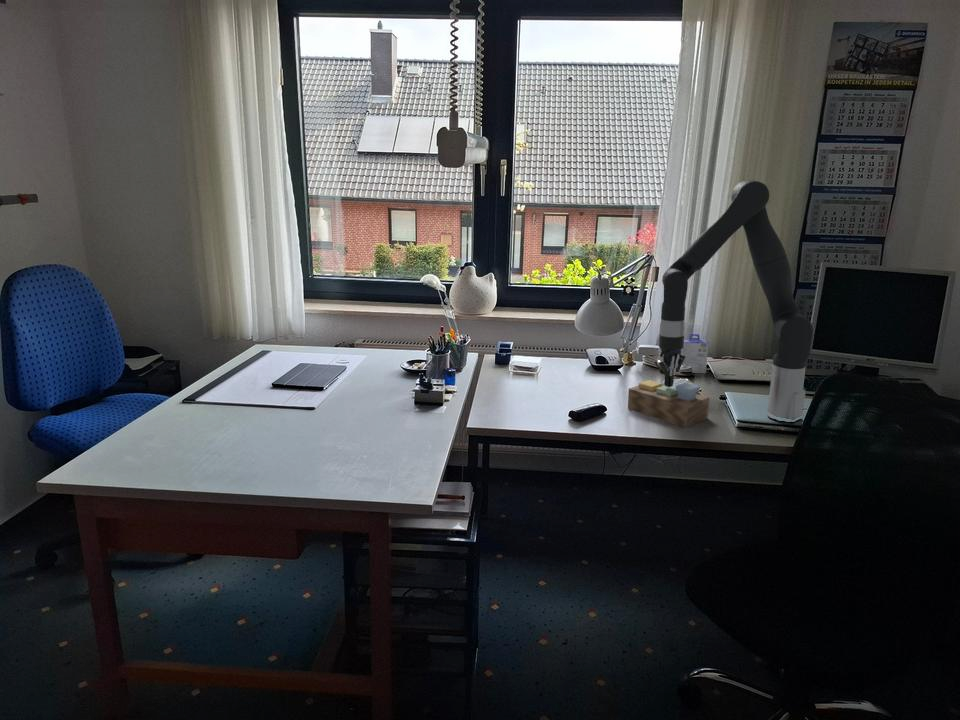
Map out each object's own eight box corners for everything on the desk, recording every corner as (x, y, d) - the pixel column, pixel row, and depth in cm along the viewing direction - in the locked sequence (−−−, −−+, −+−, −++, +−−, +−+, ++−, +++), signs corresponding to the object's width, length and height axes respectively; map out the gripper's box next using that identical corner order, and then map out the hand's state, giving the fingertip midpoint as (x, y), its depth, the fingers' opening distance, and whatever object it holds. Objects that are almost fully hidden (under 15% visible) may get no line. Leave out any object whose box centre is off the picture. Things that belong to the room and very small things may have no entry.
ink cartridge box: (704, 369, 259) (707, 333, 255) (706, 373, 253) (709, 337, 250) (678, 368, 261) (681, 333, 257) (679, 372, 255) (682, 336, 251)
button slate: (698, 407, 206) (700, 386, 204) (688, 411, 203) (690, 389, 201) (684, 403, 210) (685, 382, 208) (674, 407, 207) (675, 385, 205)
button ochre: (660, 403, 218) (662, 383, 216) (650, 407, 214) (652, 386, 213) (648, 399, 221) (649, 379, 220) (638, 403, 218) (639, 383, 216)
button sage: (678, 409, 212) (680, 388, 210) (668, 413, 209) (670, 392, 207) (665, 405, 216) (666, 384, 214) (655, 408, 213) (656, 388, 211)
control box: (707, 418, 208) (709, 397, 206) (684, 427, 201) (686, 405, 199) (650, 400, 225) (651, 381, 223) (627, 408, 218) (628, 388, 216)
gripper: (668, 338, 199) (665, 393, 204) (694, 331, 207) (691, 384, 212) (648, 334, 205) (646, 387, 209) (674, 327, 213) (671, 379, 217)
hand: (668, 386), depth 211 cm, fingers closed
